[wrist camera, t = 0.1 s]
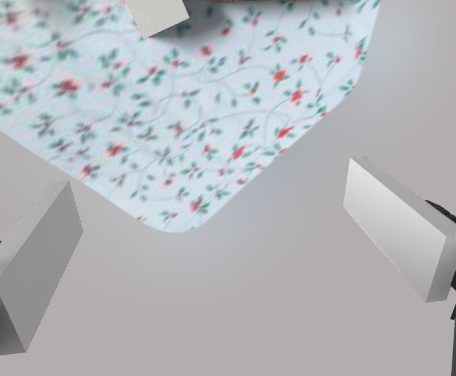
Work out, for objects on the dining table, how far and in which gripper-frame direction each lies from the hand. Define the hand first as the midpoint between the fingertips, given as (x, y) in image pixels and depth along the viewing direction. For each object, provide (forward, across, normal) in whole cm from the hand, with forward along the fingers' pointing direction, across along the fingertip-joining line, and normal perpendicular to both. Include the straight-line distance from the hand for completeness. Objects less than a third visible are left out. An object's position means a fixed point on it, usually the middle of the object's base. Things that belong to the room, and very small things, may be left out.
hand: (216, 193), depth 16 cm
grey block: (+28, -3, +9) cm, 30 cm away
